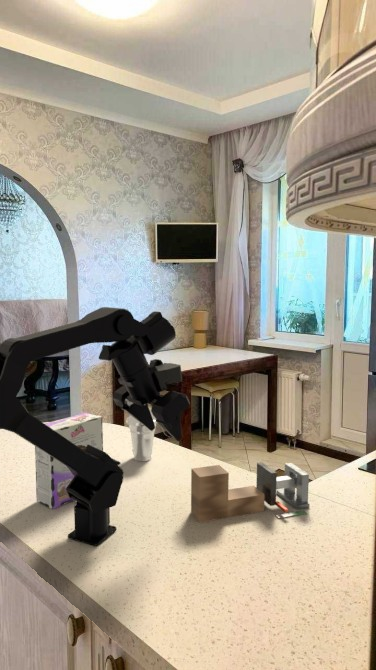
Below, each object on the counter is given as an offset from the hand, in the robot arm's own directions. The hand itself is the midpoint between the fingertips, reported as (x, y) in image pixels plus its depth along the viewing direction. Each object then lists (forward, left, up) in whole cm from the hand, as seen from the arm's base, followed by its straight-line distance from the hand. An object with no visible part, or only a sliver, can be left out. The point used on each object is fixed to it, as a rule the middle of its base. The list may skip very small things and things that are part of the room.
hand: (165, 434), depth 99 cm
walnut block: (+5, -12, -16) cm, 20 cm away
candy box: (-2, +21, -16) cm, 27 cm away
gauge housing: (+13, -21, -16) cm, 29 cm away
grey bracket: (+12, -21, -14) cm, 29 cm away
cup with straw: (+24, +18, -16) cm, 34 cm away
